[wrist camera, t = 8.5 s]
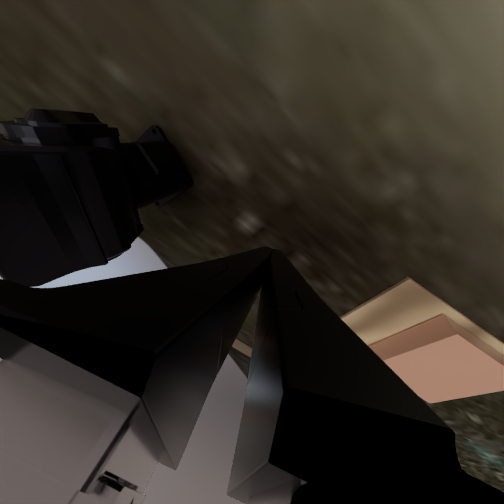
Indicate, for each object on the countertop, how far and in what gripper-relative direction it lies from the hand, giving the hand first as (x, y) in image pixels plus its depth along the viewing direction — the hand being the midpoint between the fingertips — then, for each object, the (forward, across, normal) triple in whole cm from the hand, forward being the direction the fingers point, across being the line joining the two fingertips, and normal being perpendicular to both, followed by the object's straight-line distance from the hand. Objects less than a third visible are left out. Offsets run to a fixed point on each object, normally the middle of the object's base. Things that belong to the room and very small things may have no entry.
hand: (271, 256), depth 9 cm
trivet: (+12, +21, -14) cm, 27 cm away
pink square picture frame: (+10, +18, -13) cm, 24 cm away
